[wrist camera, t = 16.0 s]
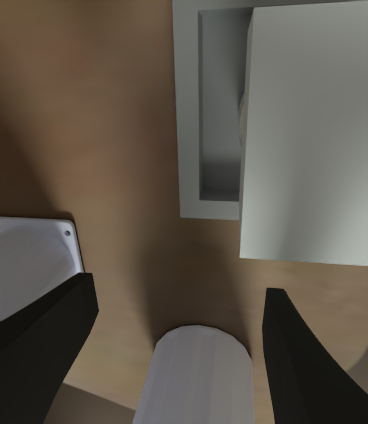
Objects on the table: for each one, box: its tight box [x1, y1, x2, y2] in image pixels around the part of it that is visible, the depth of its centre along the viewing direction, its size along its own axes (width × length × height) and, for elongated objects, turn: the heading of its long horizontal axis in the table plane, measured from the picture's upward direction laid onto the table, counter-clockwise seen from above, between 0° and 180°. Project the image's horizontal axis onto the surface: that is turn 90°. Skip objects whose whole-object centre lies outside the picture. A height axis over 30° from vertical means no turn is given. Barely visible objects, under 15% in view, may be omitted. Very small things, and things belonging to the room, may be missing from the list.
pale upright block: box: [239, 0, 368, 266], centre depth 10 cm, size 7×5×5 cm
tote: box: [172, 0, 365, 220], centre depth 17 cm, size 12×12×3 cm
